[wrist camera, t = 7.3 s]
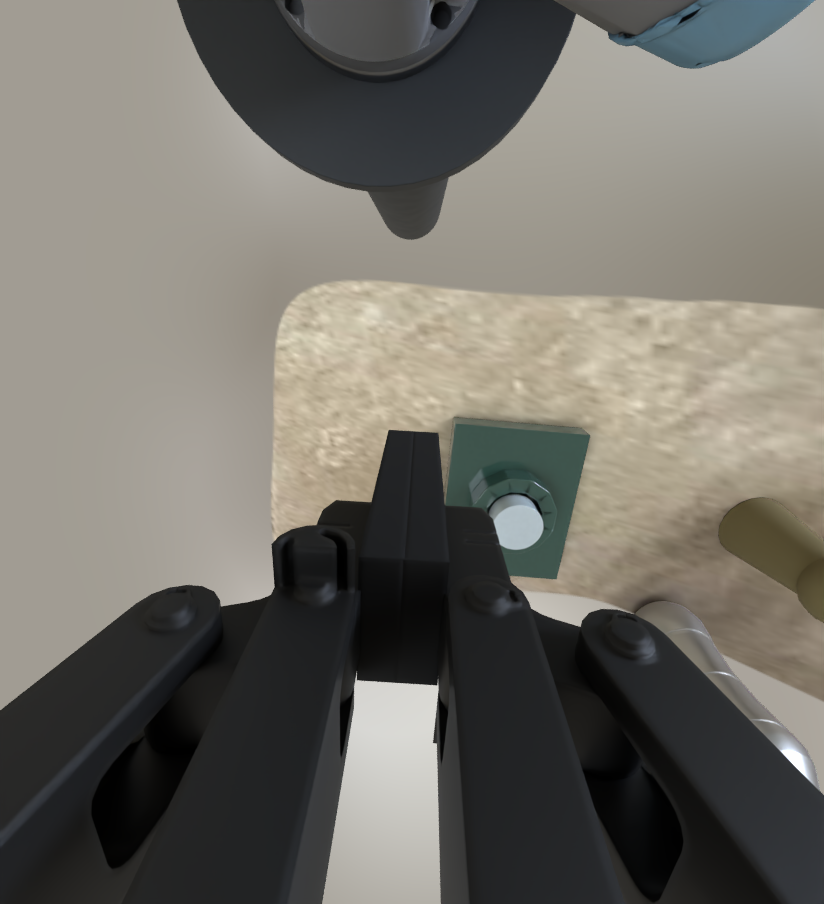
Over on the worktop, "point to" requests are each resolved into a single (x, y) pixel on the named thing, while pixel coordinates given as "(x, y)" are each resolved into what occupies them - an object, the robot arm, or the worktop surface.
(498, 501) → the white push button
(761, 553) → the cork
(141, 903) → the robot arm
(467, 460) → the green button base
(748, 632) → the worktop surface
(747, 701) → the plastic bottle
